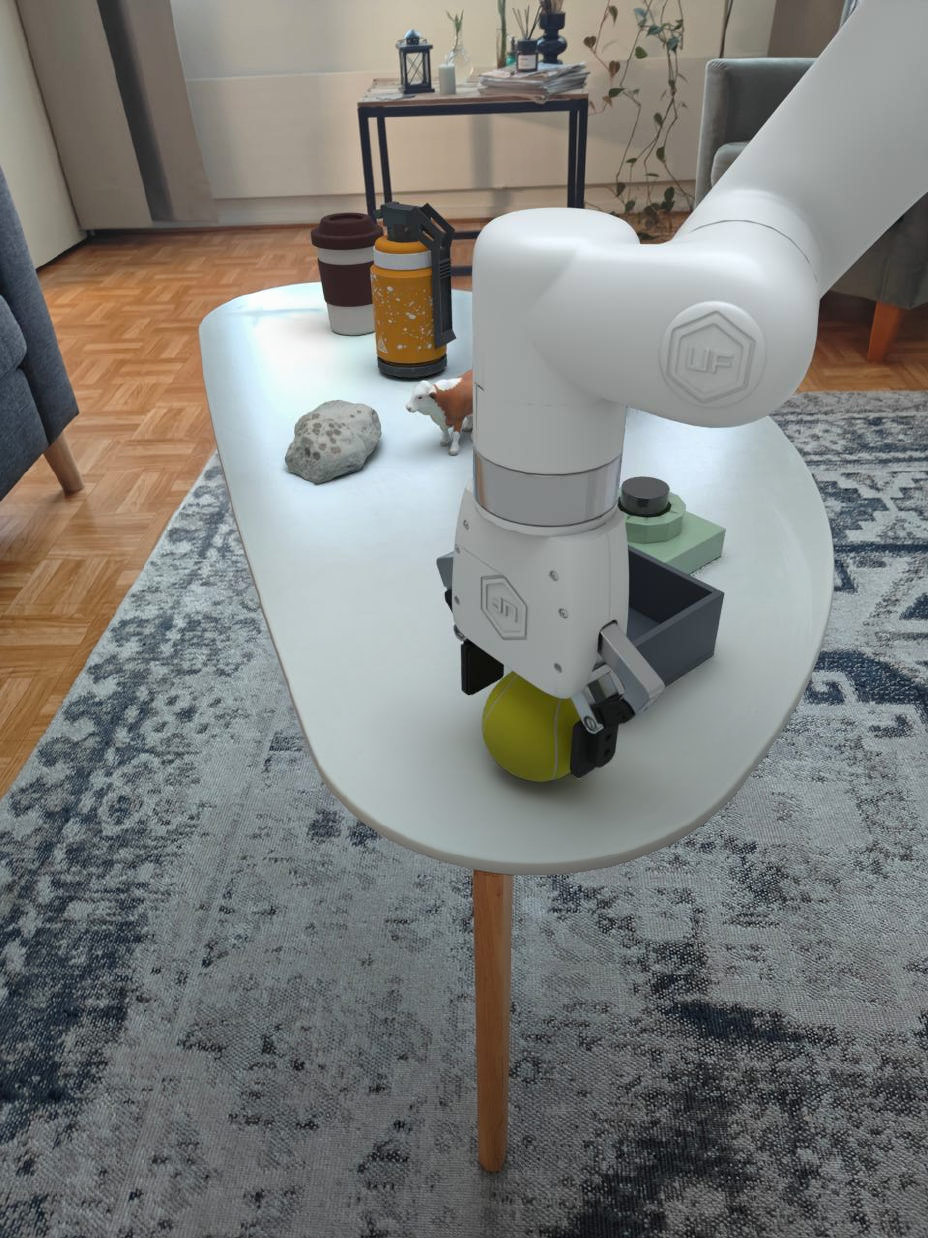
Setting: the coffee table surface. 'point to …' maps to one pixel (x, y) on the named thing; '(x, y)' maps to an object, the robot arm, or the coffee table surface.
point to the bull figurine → (446, 405)
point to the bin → (668, 618)
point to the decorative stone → (333, 440)
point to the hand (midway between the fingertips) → (534, 723)
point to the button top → (644, 497)
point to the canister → (412, 291)
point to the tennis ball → (528, 729)
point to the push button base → (676, 536)
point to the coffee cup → (347, 269)
